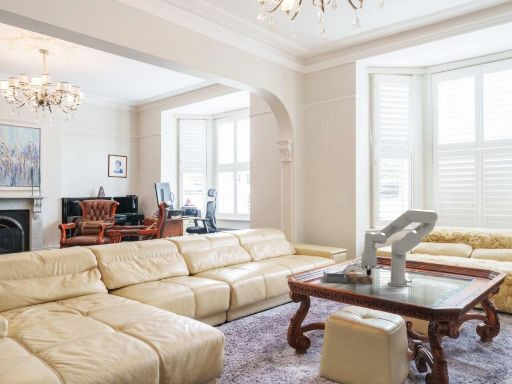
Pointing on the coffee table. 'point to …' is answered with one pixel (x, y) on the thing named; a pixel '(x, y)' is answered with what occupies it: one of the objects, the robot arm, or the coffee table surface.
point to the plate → (359, 279)
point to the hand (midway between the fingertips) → (368, 275)
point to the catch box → (335, 278)
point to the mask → (354, 268)
